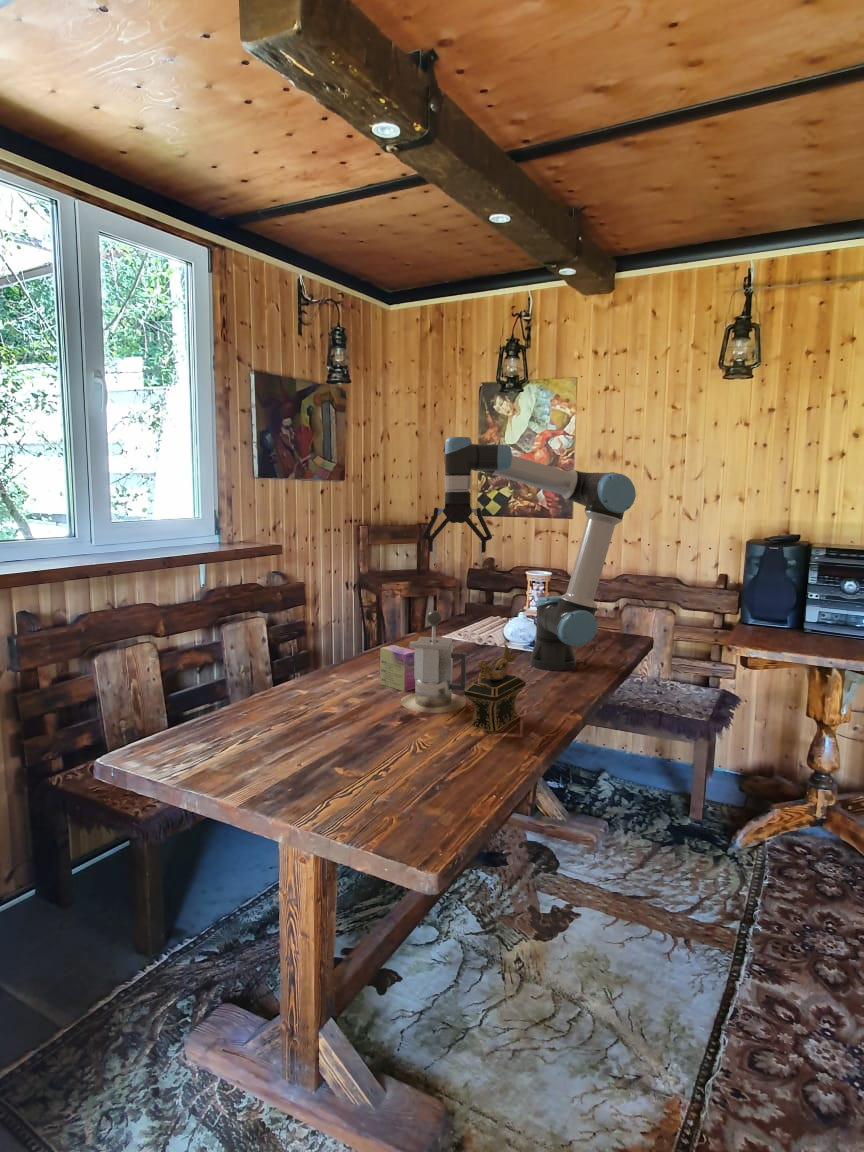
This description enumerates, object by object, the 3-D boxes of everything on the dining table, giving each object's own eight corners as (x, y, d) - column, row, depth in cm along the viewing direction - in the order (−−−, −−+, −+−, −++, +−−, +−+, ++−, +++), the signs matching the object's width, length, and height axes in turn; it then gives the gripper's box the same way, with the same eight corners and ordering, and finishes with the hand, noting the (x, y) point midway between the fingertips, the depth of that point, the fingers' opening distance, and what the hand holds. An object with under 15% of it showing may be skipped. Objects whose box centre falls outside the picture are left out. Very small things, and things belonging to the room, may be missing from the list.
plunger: (441, 670, 193) (442, 609, 190) (439, 674, 189) (440, 612, 186) (427, 669, 193) (427, 609, 191) (425, 673, 189) (425, 611, 187)
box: (418, 689, 205) (418, 650, 203) (404, 694, 201) (404, 654, 199) (393, 682, 212) (393, 644, 210) (379, 686, 208) (379, 647, 206)
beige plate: (468, 695, 200) (468, 693, 200) (462, 717, 182) (462, 714, 182) (406, 692, 202) (406, 689, 202) (394, 713, 185) (395, 710, 185)
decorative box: (495, 738, 168) (497, 658, 165) (461, 729, 174) (462, 652, 171) (532, 715, 185) (534, 642, 182) (500, 707, 190) (502, 637, 187)
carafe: (466, 697, 196) (467, 638, 193) (463, 709, 186) (464, 647, 184) (412, 694, 198) (413, 636, 195) (406, 706, 188) (407, 644, 186)
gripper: (501, 490, 206) (500, 562, 209) (417, 490, 209) (417, 560, 212) (500, 491, 198) (499, 565, 201) (413, 491, 201) (413, 564, 205)
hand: (457, 563), depth 207 cm, fingers open, 13 cm apart
